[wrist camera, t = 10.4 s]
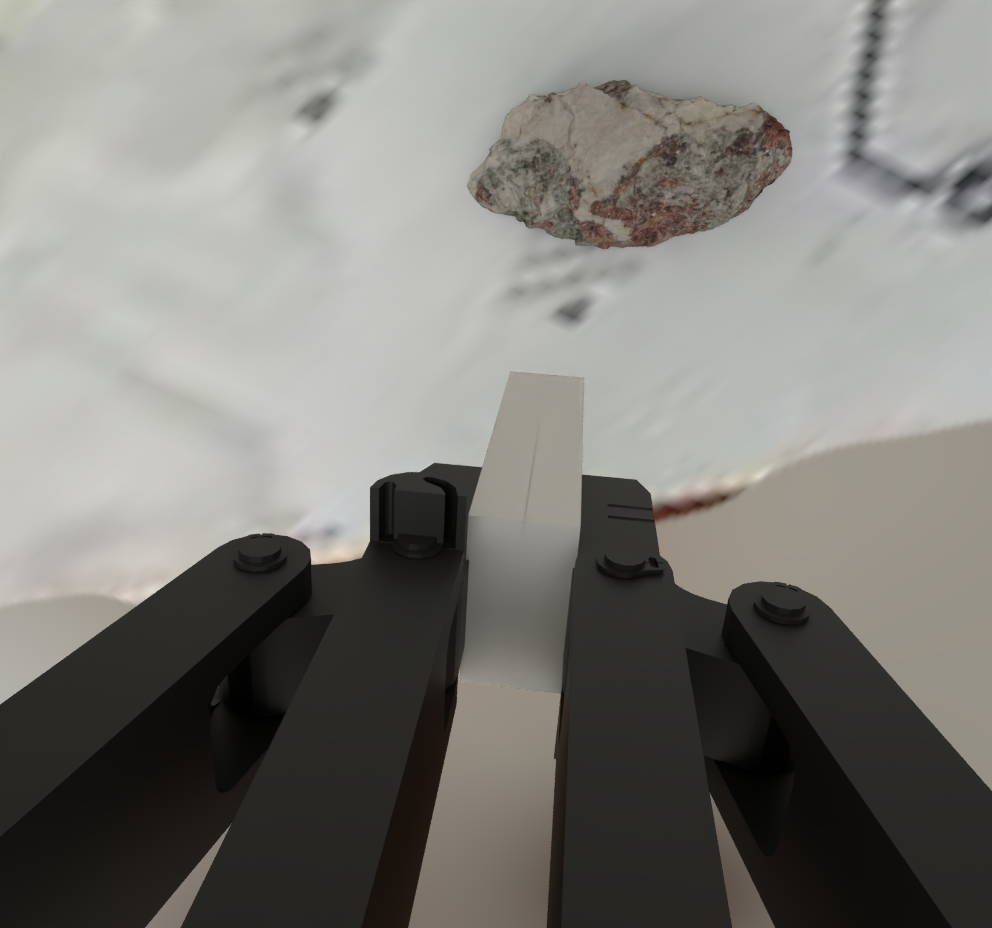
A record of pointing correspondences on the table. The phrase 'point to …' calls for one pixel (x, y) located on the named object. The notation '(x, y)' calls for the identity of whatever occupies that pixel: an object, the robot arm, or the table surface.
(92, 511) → the table surface
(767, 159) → the mineral rock
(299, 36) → the table surface
